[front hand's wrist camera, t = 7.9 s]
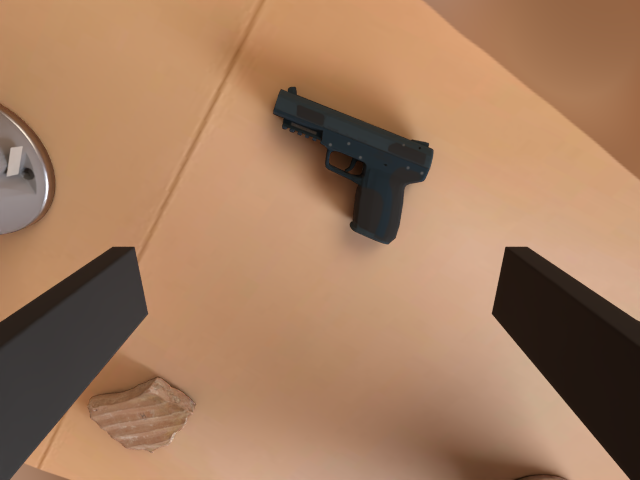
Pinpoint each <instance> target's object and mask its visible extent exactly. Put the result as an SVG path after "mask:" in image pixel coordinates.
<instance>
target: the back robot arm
mask: <svg viewBox="0 0 640 480" xmlns="http://www.w3.org/2000/svg"><path fill="white" fill-rule="evenodd" d="M518 480H565V479H563V478H560V477H556V476H551V475H535V476H529V477H525V478H521V479H518Z"/></svg>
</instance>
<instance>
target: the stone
mask: <svg viewBox="0 0 640 480" xmlns="http://www.w3.org/2000/svg"><path fill="white" fill-rule="evenodd" d="M195 405H196V404H195V403H194V402H193V401H192V400H191V399H190V398H189V397H188V396H186V395H185V394H184V393H183V392H181V391H179V390H178V389H175V388H172V387H171V386H170V385H169V384H168V383H167V382H165V381H164V380H163V379H161V378H155V379H153V380H150V381H148V382H146V383H143V384H139V385H138V386H136V387H135V388H134V389H130V390H128V391H125V392H121V393H113V394H104V395H97V396H94V397H92V398H91V399H90V400H89V404H88V406H87V407H88V409H89V412H90V418H91V419H92V420H94V421H95V422H96V423H97V424H98V425H99V426H100V428H101V429H103V430H105V431H106V432H107V433H108V434H109V435H110V436H111V437H112V438H113V439H115V440H117V441H118V442H120V443H121V444H122V445H123V446H124V447H125V448H127V449H133V450H147V451H149V452H151V453H153V451H154V450H155V449H158V448H160V447H163V446H167V445H169V444H170V443H171V441H172V440H173V438H174V435H175V434H176V432H177V431H179V430H181V429H182V428H183V427H184V425H185V423H186V420H187V418H188V417H189V416H190V415H192V413H193V410H194V408H195Z"/></svg>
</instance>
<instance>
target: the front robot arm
mask: <svg viewBox="0 0 640 480" xmlns="http://www.w3.org/2000/svg"><path fill="white" fill-rule="evenodd" d="M54 192H55V176H54V170H53V167H52V163H51V160H50V158H49V155H48V153H47V151H46V149H45V147H44V146H43V144H42V142H41V141H40V139H39V138H38V137H37V135H36V134H35V133H34V131H33V130H32V129H31V128H30V127H29V126H28V125H27V124H26V123H25V122H24V121H23V120H22V119H21V118H19V117H18V116H17V115H16V114H14V113H13V112H12V111H10V110H9V109H7V108H5V107H4V106H2V105H0V235H1V234H7V233H12V232H15V231H18V230H20V229H23V228H25V227H28V226H30V225H32V224H34V223H36V222H37V221H38V220H40V219H41V218H42V217H43V216H44V215H45V213H46V212H47V211H48V209H49V207H50V206H51V203H52V201H53V197H54ZM147 315H148V311H147V306H146V301H145V296H144V291H143V286H142V281H141V277H140V272H139V267H138V262H137V257H136V252H135V247H112V248H110V249H109V250H107V251H106V252H104V253H103V254H101V255H100V256H98V257H97V258H95V259H94V260H92V261H91V262H89V263H88V264H86V265H85V266H83V267H82V268H80V269H79V270H78V271H76V272H75V273H73V274H72V275H70V276H69V277H67V278H66V279H64V280H63V281H61V282H60V283H58V284H57V285H55V286H54V287H52V288H51V289H49V290H48V291H46V292H45V293H43V294H42V295H40V296H39V297H37V298H36V299H34V300H33V301H31V302H30V303H28V304H27V305H25V306H24V307H22V308H21V309H19V310H18V311H16V312H15V313H13V314H12V315H10V316H9V317H7V318H6V319H4V320H3V321H1V322H0V480H10V479H11V478H12V476H13V475H14V474H15V473H16V472H17V470H18V469H19V468H20V467H21V466H22V464H23V463H24V462H25V461H26V460H27V458H28V457H29V456H30V455H31V454H32V452H33V451H34V450H35V449H36V448H37V446H38V445H39V444H40V443H41V442H42V440H43V439H44V438H45V437H46V436H47V434H48V433H49V432H50V431H51V430H52V428H53V427H54V426H55V425H56V424H57V422H58V421H59V420H60V419H61V418H62V416H63V415H64V414H65V413H66V412H67V410H68V409H69V408H70V407H71V406H72V404H73V403H74V402H75V401H76V400H77V398H78V397H79V396H80V395H81V394H82V392H83V391H84V390H85V389H86V388H87V386H88V385H89V384H90V383H91V382H92V380H93V379H94V378H95V377H96V376H97V374H98V373H99V372H100V371H101V370H102V369H103V367H104V366H105V365H106V364H107V363H108V361H109V360H110V359H111V358H112V357H113V355H114V354H115V353H116V352H117V351H118V349H119V348H120V347H121V346H122V345H123V343H124V342H125V341H126V340H127V339H128V337H129V336H130V335H131V334H132V333H133V331H134V330H135V329H136V328H137V327H138V325H139V324H140V323H141V322H142V321H143V319H144V318H145V317H146V316H147ZM492 315H493V316H494V317H495V318H496V319H497V321H498V322H499V323H500V324H501V325H502V327H503V328H504V329H505V330H506V331H507V333H508V334H509V335H510V336H511V337H512V339H513V340H514V341H515V342H516V343H517V345H518V346H519V347H520V348H521V349H522V351H523V352H524V353H525V354H526V355H527V357H528V358H529V359H530V360H531V361H532V363H533V364H534V365H535V366H536V367H537V369H538V370H539V371H540V372H541V373H542V374H543V376H544V377H545V378H546V379H547V380H548V382H549V383H550V384H551V385H552V386H553V388H554V389H555V390H556V391H557V392H558V394H559V395H560V396H561V397H562V398H563V400H564V401H565V402H566V403H567V404H568V406H569V407H570V408H571V409H572V410H573V412H574V413H575V414H576V415H577V416H578V418H579V419H580V420H581V421H582V422H583V424H584V425H585V426H586V427H587V428H588V430H589V431H590V432H591V433H592V434H593V436H594V437H595V438H596V439H597V440H598V442H599V443H600V444H601V445H602V446H603V448H604V449H605V450H606V451H607V452H608V454H609V455H610V456H611V457H612V458H613V460H614V461H615V462H616V463H617V464H618V466H619V467H620V468H621V469H622V470H623V472H624V473H625V474H626V475H627V476H628V478H629V479H630V480H640V321H638V320H636V319H634V318H633V317H631V316H630V315H628V314H627V313H625V312H624V311H622V310H621V309H619V308H618V307H616V306H615V305H613V304H612V303H610V302H609V301H607V300H606V299H604V298H603V297H601V296H600V295H598V294H597V293H595V292H594V291H592V290H591V289H589V288H588V287H586V286H585V285H583V284H582V283H580V282H579V281H577V280H576V279H574V278H573V277H571V276H570V275H568V274H567V273H565V272H564V271H562V270H561V269H560V268H558V267H557V266H555V265H554V264H552V263H551V262H549V261H548V260H546V259H545V258H543V257H542V256H540V255H539V254H537V253H536V252H534V251H533V250H531V249H530V248H528V247H505V252H504V257H503V262H502V267H501V272H500V277H499V281H498V286H497V291H496V296H495V301H494V306H493V311H492Z"/></svg>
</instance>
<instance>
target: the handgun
mask: <svg viewBox="0 0 640 480" xmlns="http://www.w3.org/2000/svg"><path fill="white" fill-rule="evenodd" d="M273 114H275V115H277V116H280V117H282V118H284V119H283V125H282V128H283V129H287V128H290V132H295V130H296V131H298V133H297V134H298V135H302V133H303V134H306V135H305V137H306V138H309V136H311V137H313V139H312V140H314V141H316V140H317V139H319V140H321V142H320V143H321V144H322V145H324V146H325V147H326V148H327V154H326V160H325V165H326V168H327V169H329V170H331V171H333V172H335V173H337V174H339V175H341V176H344V177H346V178H348V179H350V180H352V181H353V182H355V183H357V184H358V187H357V190H356V195H355V204H354V213H353V221H352V222H351V223H350V227H351V229H352V230H353V231H355V232H357V233H359V234H362V235H364V236H366V237H368V238H371V239H373V240H375V241H378V242H381V243H384V244H389V243H390V242H391V241H393V240H394V239H395V238H396V235H397V232H398V228H399V225H400V219H401V212H402V206H403V197H404V189H405V186H406V185H408V184H412V183H417V182H422V181H424V180H425V178H426V176H427V174H428V172H429V169H430V166H431V163H432V159H433V149H431V148H429V147H428V146H429V143H426V142H422V141H417V140H409V139H406V138H404V137H401V136H399V135H396V134H394V133H391V132H389V131H386V130H384V129H381V128H379V127H376V126H374V125H371V124H369V123H366V122H364V121H361V120H359V119H356V118H354V117H351V116H349V115H346V114H344V113H341V112H339V111H336V110H333V109H331V108H328V107H326V106H323V105H321V104H318V103H316V102H313V101H311V100H308V99H306V98H303V97H301V96H298V95H297V92H296V87H290V88H288V92H287V91H284V90H282V89H281V90H280V92H279V95H278V98H277V101H276V104H275V108H274V111H273ZM332 151H338V152H341V153H343V154H346V155H348V156H351V157H353V159H352V161H351V164H350V166H349V167H348V168H347V169H345V171H346V172H345V171H343V170H341V169H339V168H337V167H335V166H332V165H330V164H329V156H330V153H331V152H332ZM356 161H361V162H364V163H363V170H362V173H361V174H360V175H352V174H350V173H347V172H349V171H350V170H351V169H352V168H353V167H354V165H355V163H356Z"/></svg>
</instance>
